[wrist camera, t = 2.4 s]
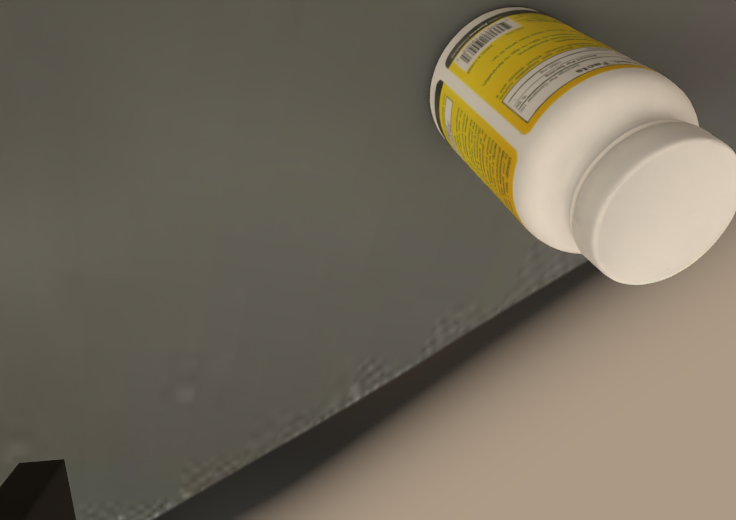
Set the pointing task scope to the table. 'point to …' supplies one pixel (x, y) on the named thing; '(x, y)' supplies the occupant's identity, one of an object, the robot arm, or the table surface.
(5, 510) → the robot arm
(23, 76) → the table surface
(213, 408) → the table surface
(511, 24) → the pill bottle
